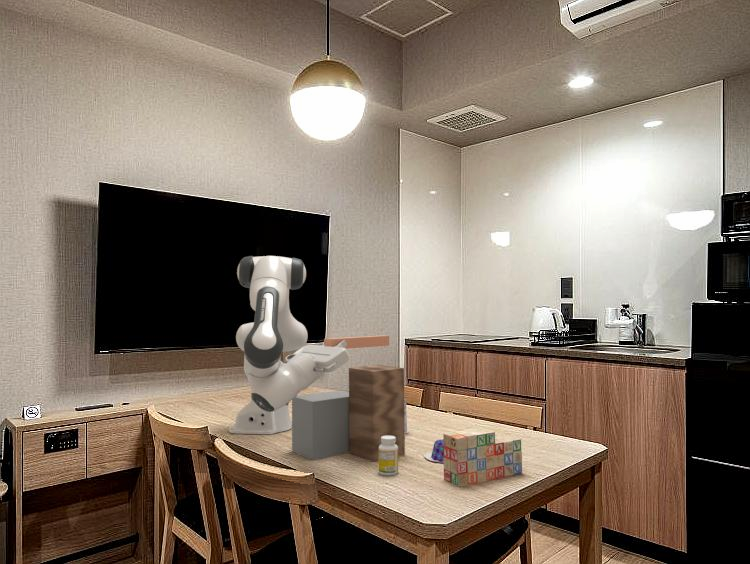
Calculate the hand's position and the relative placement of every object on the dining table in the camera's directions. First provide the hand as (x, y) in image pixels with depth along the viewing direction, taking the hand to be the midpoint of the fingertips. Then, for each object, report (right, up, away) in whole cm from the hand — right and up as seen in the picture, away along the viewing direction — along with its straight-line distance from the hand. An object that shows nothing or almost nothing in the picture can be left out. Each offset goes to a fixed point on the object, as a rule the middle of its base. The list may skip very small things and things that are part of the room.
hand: (340, 341), depth 165 cm
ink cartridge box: (+17, -36, +31) cm, 50 cm away
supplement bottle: (+14, -34, -12) cm, 39 cm away
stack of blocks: (+39, -34, -16) cm, 54 cm away
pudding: (+31, -35, +2) cm, 47 cm away
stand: (+11, -35, +7) cm, 37 cm away
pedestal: (-5, -35, +11) cm, 37 cm away
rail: (+5, -2, +4) cm, 7 cm away
